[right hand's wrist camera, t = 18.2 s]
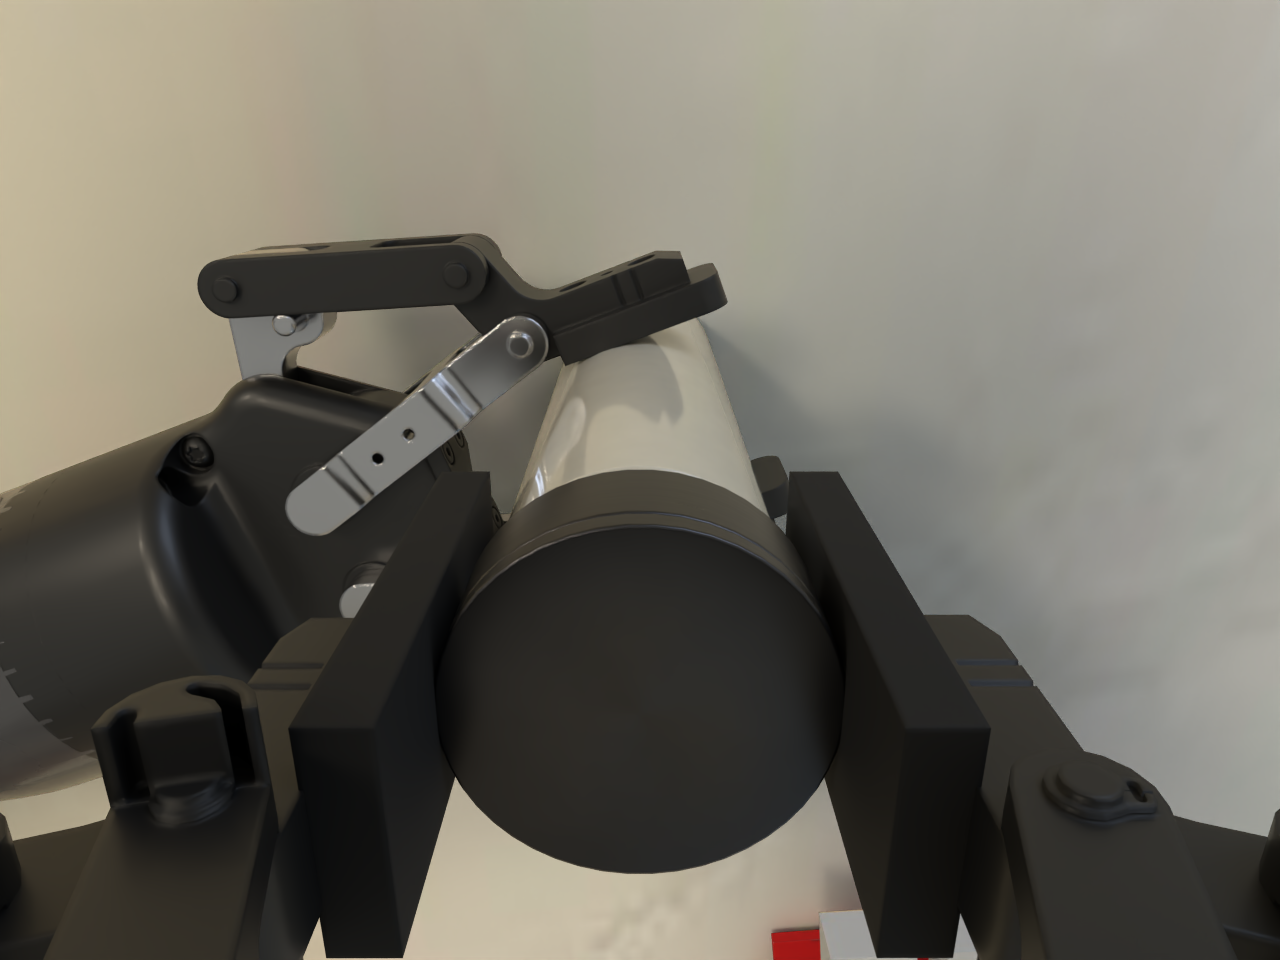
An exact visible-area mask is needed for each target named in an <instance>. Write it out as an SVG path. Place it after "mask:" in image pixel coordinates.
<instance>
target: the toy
mask: <svg viewBox="0 0 1280 960" xmlns="http://www.w3.org/2000/svg"><path fill="white" fill-rule="evenodd" d="M819 928H820V929H817V930H805V931H793V932H780V933H771V936H772V948H773V960H977V952H976V950H975V948H974V945H973V943H972V940H971V938H970V935H969V933H968V931H967V928H966V926H965V923H964V921H963V919H962V916H961V914H960V919H959V925H958V931H957V937H956V943H955V949H954V955H953V958H877V957H876V954H875V950H874V947H873V943H872V940H871V937H870V933H869V930H868V926H867V923H866V919H865V916H864V912H863V910H847V911H830V912H819Z"/></svg>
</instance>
